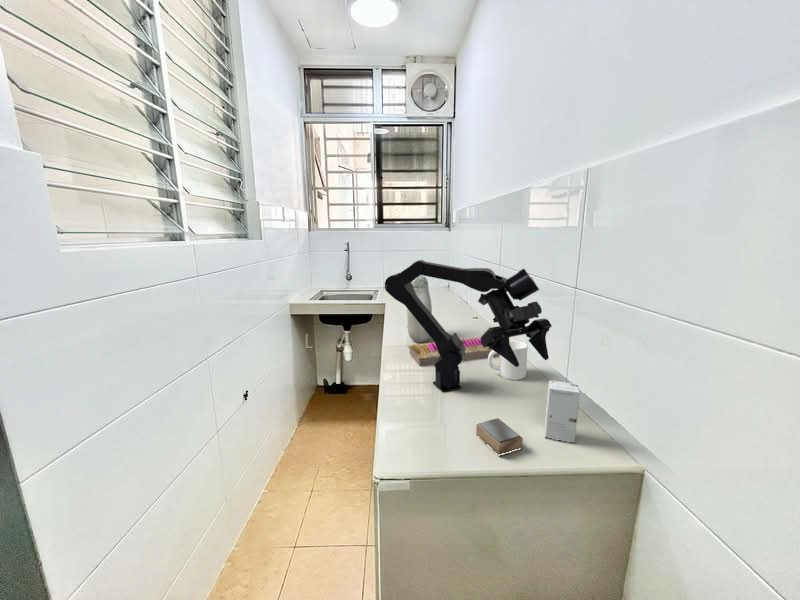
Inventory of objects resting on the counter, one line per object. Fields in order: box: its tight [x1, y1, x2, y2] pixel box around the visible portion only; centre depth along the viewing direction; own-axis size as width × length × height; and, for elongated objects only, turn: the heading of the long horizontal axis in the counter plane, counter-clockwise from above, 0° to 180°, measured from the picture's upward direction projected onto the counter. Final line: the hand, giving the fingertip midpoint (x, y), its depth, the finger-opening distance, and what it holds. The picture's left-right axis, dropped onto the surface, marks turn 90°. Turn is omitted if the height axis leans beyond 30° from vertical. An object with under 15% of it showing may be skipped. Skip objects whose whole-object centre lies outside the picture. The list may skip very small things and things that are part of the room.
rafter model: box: [406, 336, 499, 367], centre depth 123 cm, size 35×14×6 cm, turn 104°
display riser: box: [475, 417, 524, 455], centre depth 72 cm, size 6×8×3 cm
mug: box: [487, 339, 529, 381], centre depth 105 cm, size 12×8×10 cm
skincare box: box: [544, 380, 581, 443], centre depth 73 cm, size 6×4×12 cm
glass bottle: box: [406, 275, 433, 343], centre depth 137 cm, size 10×10×28 cm
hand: (532, 362), depth 80 cm, fingers open, 9 cm apart
